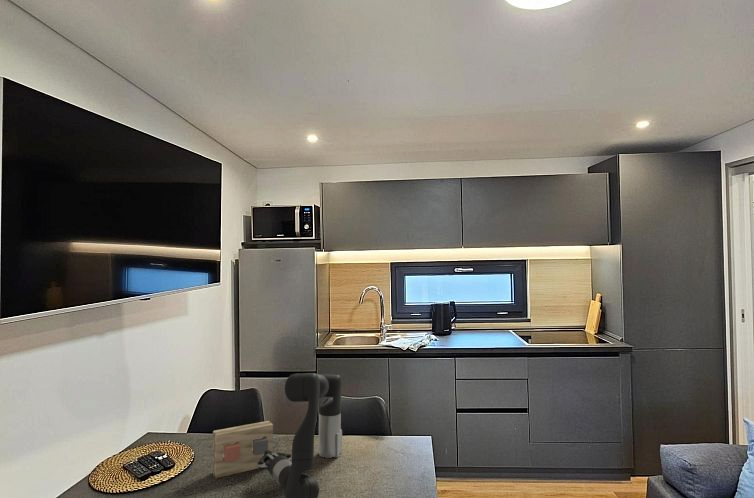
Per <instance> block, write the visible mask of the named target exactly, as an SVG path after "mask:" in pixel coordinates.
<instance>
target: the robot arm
mask: <svg viewBox="0 0 754 498" xmlns="http://www.w3.org/2000/svg"><path fill="white" fill-rule="evenodd" d="M342 385H343V379H342V376H341V375H339V374H325V373H324V374H321V373H315V372H306V373H304V372H303V373H302V372H301V373H300V372H299V373H292V374H290V375H289V376H288V377H287V378H286V380H285V383H284V394H285V396H286V398H287V399H288V400H289V401H290V402H292V403H293V402H294V403H301V402H302V403H303V402H308V404H307V411H306V414H305V416H304V418H303V420H302V422H301V424H300V426H299V427H298V429H297V430H296V433H294V434H295V435H294V436H293V440H292V444H291V445H292V446H291V454H290V453H285V452H276V453H275V452H272V451H270V450H267V451H265V452H264V456H262V458H261V459H260V460H259V461H258V468H257V469H258V470H261V469H263V468H264V469H265V470H267V472H268V473H269V475H270V476H271V477H272V478H273V479H274V480H275V482H276V483H277V484H279V485H280V486H281V487H282V489H283V490H284V497H285V498H319V494H320V486H319V484H318V482H317V480H316V478H314V477H313V476H311V475H309V474H308V473H307V474H306V472H307V471H310V470H312V469H313V467H314V462H315V461H314V456H315V455H314V454H315V433H316V425H317V419H318V456H319V457H321V458H324V457H325V458H324V459H333V458H332V457H334V458H338V457H340V455H341V454H342V452H343V430H342V426H341V424H342V423H341V422H342V420H341V419H342V418H341V416H342V413H341V412H342V410H341V409H342V408H341V407H342V390H343V386H342ZM321 398H332V399H331V401H330V400H329V401H327V402H325V403H322V404H321V405H320V406H319V402H320V400H319V399H321ZM317 416H318V418H317ZM340 453H341V454H340ZM266 461H267V462H266ZM304 472H305V473H304Z"/></svg>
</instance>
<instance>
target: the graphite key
mask: <svg viewBox="0 0 754 498" xmlns="http://www.w3.org/2000/svg"><path fill="white" fill-rule="evenodd" d="M252 449H253V453H254V455H260V454H264V452H265V451H267V450H268V439H267V438H266V437H265V438H262V437H259V438H254V439H252Z"/></svg>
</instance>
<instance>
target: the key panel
mask: <svg viewBox="0 0 754 498" xmlns="http://www.w3.org/2000/svg"><path fill="white" fill-rule="evenodd" d="M265 437H266V438H267V439H268V450H270V451H272V452H273V451H274V449H273V448H274V445H273V443H274V424H273V423H272V422H271V421H270V420H266V421H260V422H254V423H250V424H249V423H248V424H243V425H239V426H233V427H227V428H223V429H222V428H220V429H216V430H213V431H212V475H213V476H214V478H215V479H218V478H223V477H227V476H232V475H235V474H240V473H245V472H247V471H253V470H257V469H258V461H259V460H260V459H261V458H262V456H264V454H260V455H254V453H253V440H255V439H260V438H265ZM235 443H238V444H239V445H240V459H237V460H233V461H228V462H226V461H225V460H224V446H225V445H230V444H235ZM273 453H274V452H273ZM266 462H267V461H266Z"/></svg>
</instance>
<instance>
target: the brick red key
mask: <svg viewBox="0 0 754 498" xmlns="http://www.w3.org/2000/svg"><path fill="white" fill-rule="evenodd" d="M223 455H224V460H225V461H226V462H228V461H233V460H237V459H240V445H239V444H238V443H235V442H234V443H229V444H224V445H223Z"/></svg>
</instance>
